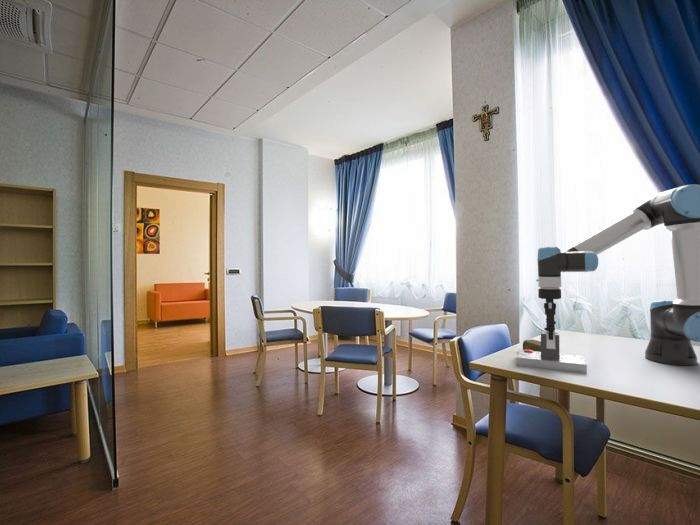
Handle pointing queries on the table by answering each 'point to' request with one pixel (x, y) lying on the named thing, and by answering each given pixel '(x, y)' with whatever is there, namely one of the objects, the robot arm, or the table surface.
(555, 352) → the plug
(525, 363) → the socket plate
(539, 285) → the robot arm
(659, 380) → the table surface
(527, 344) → the stone block
